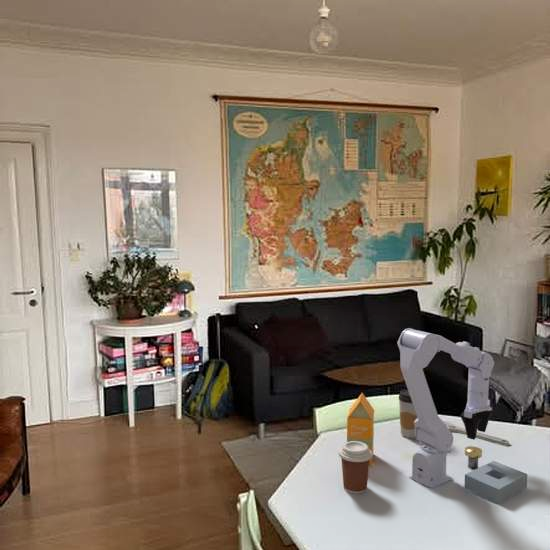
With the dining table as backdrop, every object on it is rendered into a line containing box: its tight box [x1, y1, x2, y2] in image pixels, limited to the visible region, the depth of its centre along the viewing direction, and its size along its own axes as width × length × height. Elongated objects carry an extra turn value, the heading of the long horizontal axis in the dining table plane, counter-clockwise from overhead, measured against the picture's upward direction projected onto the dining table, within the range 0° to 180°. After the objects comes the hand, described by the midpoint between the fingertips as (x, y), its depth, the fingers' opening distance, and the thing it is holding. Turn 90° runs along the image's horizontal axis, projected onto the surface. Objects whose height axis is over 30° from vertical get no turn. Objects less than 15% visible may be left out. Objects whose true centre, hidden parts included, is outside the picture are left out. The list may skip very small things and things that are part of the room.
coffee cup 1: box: [338, 441, 372, 495], centre depth 143 cm, size 9×9×12 cm
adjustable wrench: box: [442, 420, 510, 446], centre depth 179 cm, size 25×6×2 cm, turn 43°
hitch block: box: [463, 460, 528, 505], centre depth 143 cm, size 14×10×4 cm
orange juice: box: [346, 392, 375, 467], centre depth 160 cm, size 8×9×20 cm
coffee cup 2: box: [398, 389, 418, 439], centre depth 179 cm, size 8×8×15 cm
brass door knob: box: [464, 445, 483, 471], centre depth 155 cm, size 5×5×6 cm
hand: (476, 434), depth 156 cm, fingers open, 7 cm apart
